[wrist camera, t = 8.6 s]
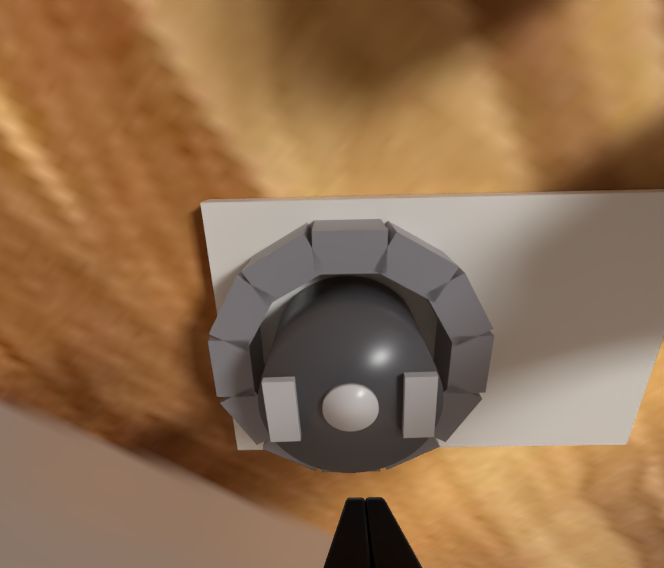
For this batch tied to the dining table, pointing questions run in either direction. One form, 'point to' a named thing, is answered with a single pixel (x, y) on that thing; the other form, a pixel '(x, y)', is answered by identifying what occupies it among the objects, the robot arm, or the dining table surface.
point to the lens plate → (525, 290)
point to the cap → (349, 378)
